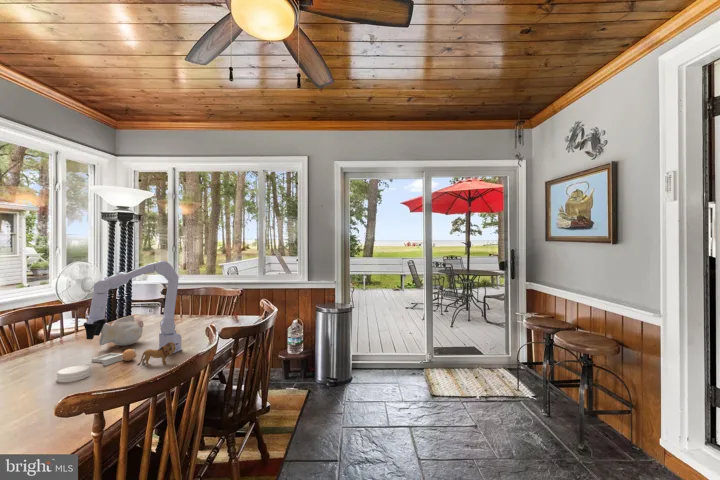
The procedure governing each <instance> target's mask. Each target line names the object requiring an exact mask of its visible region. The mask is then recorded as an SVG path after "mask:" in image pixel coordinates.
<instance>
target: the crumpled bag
mask: <svg viewBox="0 0 720 480" xmlns="http://www.w3.org/2000/svg"><path fill="white" fill-rule="evenodd" d="M143 327H144V321H143V320H142V319H141V318H139V317H138V318H137V317H134V315H127V316H125V317H124V316H123V317H121V318H117V319H116V320H115V321H114V322H113V323H112V324H111V325H109V324H108V323H105V324H104V326H103V328H102V330H101V332H100V335H99V340H98V343H99V346H104V345H106V344H109V343H112V344H114V345H117V346H122V347H123V346H125V347H127V346H129V345H132V344H134V343H137V342H138V341H139V340H140V339H141V338H142V334H143Z"/></svg>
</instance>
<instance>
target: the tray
mask: <svg viewBox="0 0 720 480" xmlns="http://www.w3.org/2000/svg"><path fill="white" fill-rule="evenodd" d="M119 354H120V353H118V352H109V353H106V354H102V355H100V356H96V357H93V358H92V357H91V362H93V363H100V362H101V364H104V359H107V358H110V357H113V356H116V355H119Z"/></svg>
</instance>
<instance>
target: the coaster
mask: <svg viewBox="0 0 720 480" xmlns="http://www.w3.org/2000/svg"><path fill="white" fill-rule="evenodd" d="M89 376H90V367H89V366H88V365H73V366H67V367H64V368H62V369H60V370H58V371H57V372H56V382H58V383H71V382H78V381H80V380H84V379H86V378H88V377H89Z"/></svg>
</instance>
